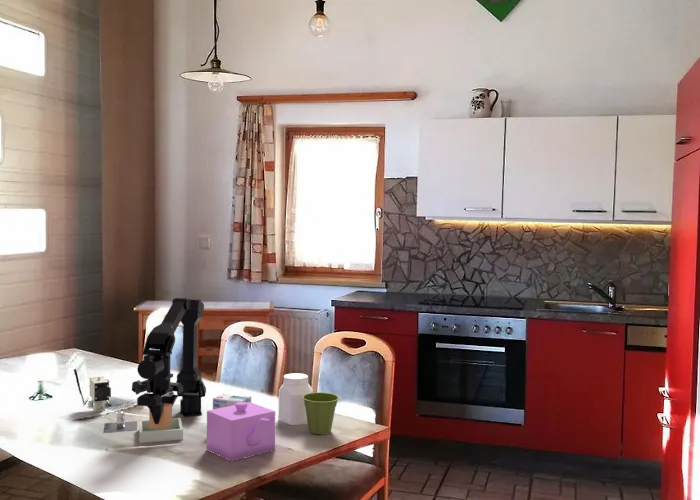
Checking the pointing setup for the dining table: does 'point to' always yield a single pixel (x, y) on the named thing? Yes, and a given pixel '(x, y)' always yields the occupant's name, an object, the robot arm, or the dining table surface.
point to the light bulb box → (228, 400)
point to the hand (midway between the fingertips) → (160, 421)
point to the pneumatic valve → (99, 392)
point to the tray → (160, 431)
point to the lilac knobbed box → (240, 430)
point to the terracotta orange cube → (162, 418)
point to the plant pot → (320, 411)
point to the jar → (293, 399)
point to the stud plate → (114, 427)
